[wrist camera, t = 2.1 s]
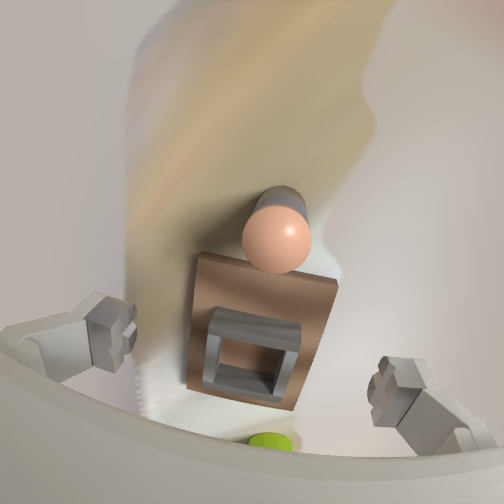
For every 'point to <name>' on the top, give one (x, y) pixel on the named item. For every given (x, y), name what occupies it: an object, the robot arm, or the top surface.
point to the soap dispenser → (271, 441)
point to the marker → (277, 231)
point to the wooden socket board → (255, 330)
